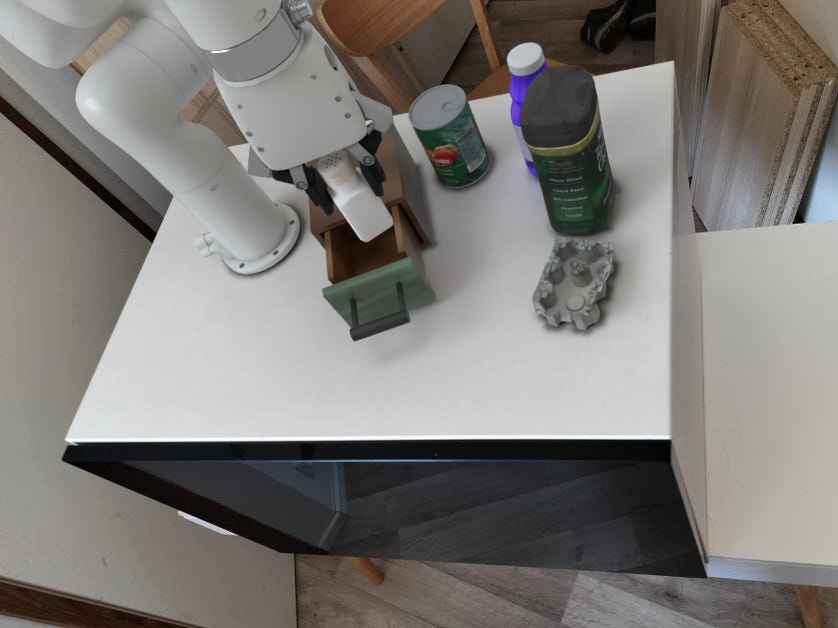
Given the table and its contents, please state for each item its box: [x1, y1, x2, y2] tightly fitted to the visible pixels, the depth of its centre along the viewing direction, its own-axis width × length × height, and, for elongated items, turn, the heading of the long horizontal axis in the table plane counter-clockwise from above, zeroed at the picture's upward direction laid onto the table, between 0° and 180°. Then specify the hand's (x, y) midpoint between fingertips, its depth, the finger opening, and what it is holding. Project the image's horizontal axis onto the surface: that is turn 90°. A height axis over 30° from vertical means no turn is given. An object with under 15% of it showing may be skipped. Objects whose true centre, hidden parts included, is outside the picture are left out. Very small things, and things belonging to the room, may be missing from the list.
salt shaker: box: [317, 149, 393, 242], centre depth 68 cm, size 4×4×10 cm
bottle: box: [506, 42, 549, 177], centre depth 83 cm, size 7×6×17 cm
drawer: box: [321, 203, 437, 342], centre depth 84 cm, size 20×11×8 cm, turn 11°
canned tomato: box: [407, 84, 492, 190], centre depth 91 cm, size 8×8×11 cm
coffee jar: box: [519, 64, 616, 237], centre depth 77 cm, size 10×8×19 cm
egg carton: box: [532, 235, 615, 331], centre depth 77 cm, size 11×8×4 cm
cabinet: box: [306, 122, 433, 251], centre depth 91 cm, size 16×13×10 cm
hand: (353, 194), depth 68 cm, fingers closed on salt shaker, 4 cm apart
